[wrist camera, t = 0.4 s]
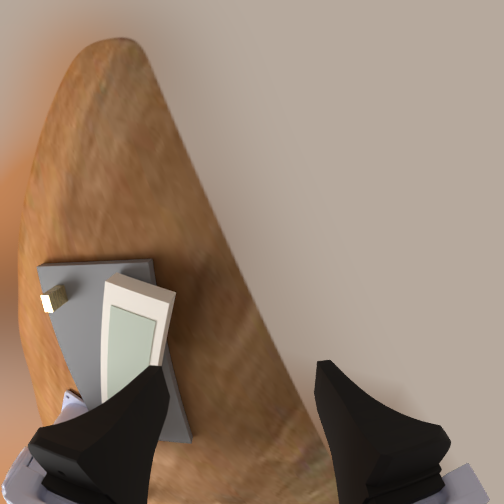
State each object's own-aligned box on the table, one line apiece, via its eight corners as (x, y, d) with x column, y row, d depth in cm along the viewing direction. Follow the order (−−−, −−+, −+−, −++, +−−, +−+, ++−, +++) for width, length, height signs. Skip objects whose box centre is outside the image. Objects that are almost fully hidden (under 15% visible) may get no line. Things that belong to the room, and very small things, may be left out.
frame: (151, 432, 25) (146, 446, 22) (109, 417, 24) (103, 430, 22) (176, 292, 20) (168, 304, 18) (116, 272, 20) (103, 282, 18)
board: (192, 437, 26) (188, 460, 23) (101, 424, 26) (92, 443, 23) (152, 258, 21) (135, 272, 18) (42, 263, 21) (20, 275, 18)
